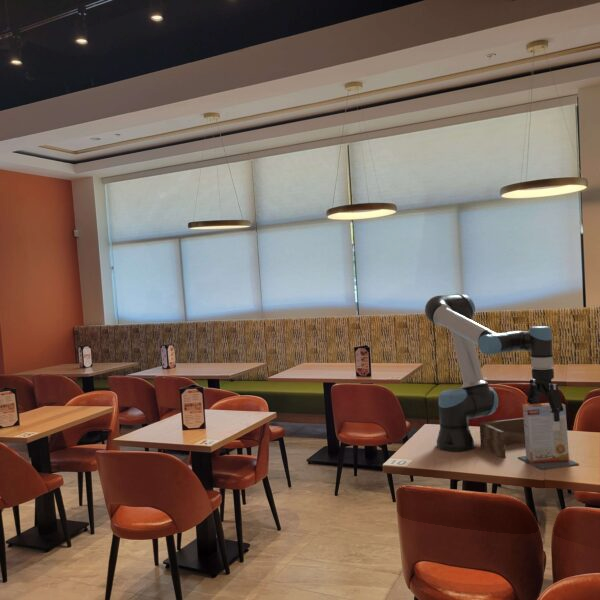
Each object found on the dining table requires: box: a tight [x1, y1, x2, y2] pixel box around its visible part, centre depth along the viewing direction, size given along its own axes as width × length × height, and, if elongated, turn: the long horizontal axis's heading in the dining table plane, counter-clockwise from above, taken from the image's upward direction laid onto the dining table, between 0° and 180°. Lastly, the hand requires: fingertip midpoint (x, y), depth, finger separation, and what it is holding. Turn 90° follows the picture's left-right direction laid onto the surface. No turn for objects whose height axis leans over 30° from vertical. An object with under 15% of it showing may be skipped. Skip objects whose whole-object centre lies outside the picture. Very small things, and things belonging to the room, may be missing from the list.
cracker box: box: [522, 402, 570, 463], centre depth 214 cm, size 14×6×21 cm, turn 86°
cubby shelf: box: [479, 417, 525, 459], centre depth 232 cm, size 17×28×10 cm, turn 100°
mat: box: [517, 455, 580, 471], centre depth 214 cm, size 15×15×1 cm
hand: (545, 426), depth 214 cm, fingers open, 11 cm apart
